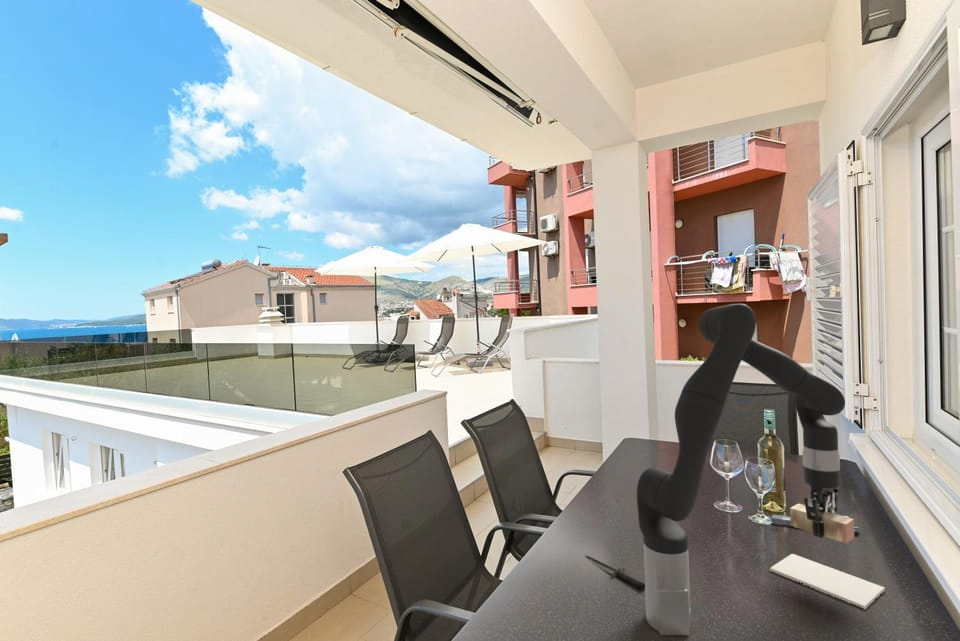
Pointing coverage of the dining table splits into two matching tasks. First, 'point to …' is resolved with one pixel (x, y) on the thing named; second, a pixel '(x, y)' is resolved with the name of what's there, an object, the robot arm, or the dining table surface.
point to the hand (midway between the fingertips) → (823, 532)
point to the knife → (617, 573)
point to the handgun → (786, 521)
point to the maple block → (833, 524)
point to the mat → (828, 580)
